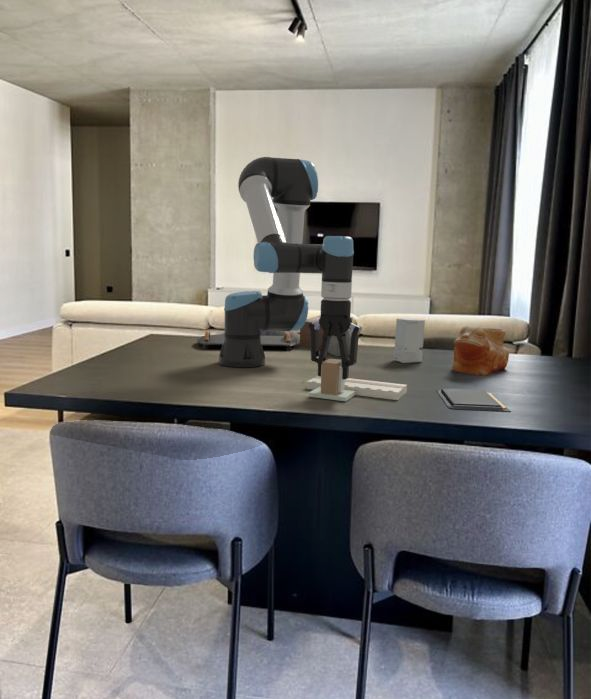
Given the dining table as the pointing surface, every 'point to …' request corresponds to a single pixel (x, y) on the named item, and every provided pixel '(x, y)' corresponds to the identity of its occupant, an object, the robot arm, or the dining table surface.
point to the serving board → (265, 340)
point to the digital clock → (334, 344)
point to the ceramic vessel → (480, 351)
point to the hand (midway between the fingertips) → (332, 390)
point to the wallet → (471, 400)
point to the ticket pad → (367, 388)
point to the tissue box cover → (306, 333)
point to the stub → (331, 383)
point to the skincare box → (409, 340)
